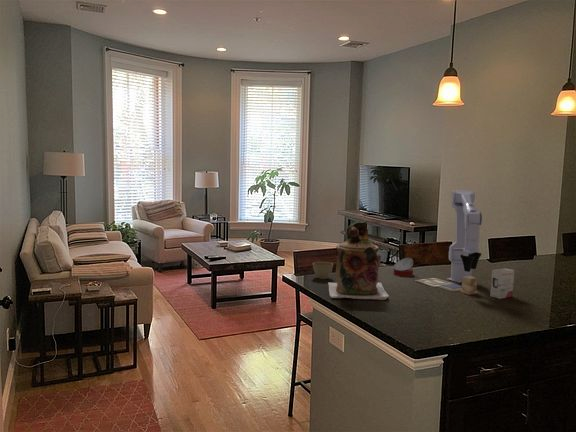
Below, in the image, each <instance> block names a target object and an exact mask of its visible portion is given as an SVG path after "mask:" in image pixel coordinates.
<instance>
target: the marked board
mask: <svg viewBox="0 0 576 432" xmlns="http://www.w3.org/2000/svg"><path fill="white" fill-rule="evenodd" d="M414 282H415V283H419V284H422V285H424V286H428V287H431V288H440V285H445V284H456V282H455V283H454V282H451V281H449V280H448V281H446V280H444V279H441V278H437V277H431V278H422V279H415V280H414Z"/></svg>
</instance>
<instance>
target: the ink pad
mask: <svg viewBox="0 0 576 432" xmlns="http://www.w3.org/2000/svg"><path fill="white" fill-rule="evenodd" d="M439 288H440V289H444V290H445V291H446V290H447V291H450V292H460V291H461V289H462V285H460V284H456V283H455V284H445V285H440V287H439Z"/></svg>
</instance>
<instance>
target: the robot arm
mask: <svg viewBox="0 0 576 432" xmlns="http://www.w3.org/2000/svg"><path fill="white" fill-rule="evenodd" d="M475 199H476V194H475V191H474V190H472V189H471V190H459V189H458V190H457V189H453V190H452V192H451V208H453V209H454V211H455V237H454V238H455V241H454V242H453V243H452V244H450V245H449V247H448V249H449V250H448V261H449V262H451V267H450V269H451V271H450V277H448V278H446V280H448V281H450V282H451V281H452V282H455V283H462V277H465V276H472V277H473V275H472V273H473V272H472V271H473V270H476V268H477V265H478V262H479V260H480V258H481V256H482V252H479V251H480V248H479V243H480V229H481V228H480V227H481V226H482V223H483V221H482V220H483V215H482V212H481V211H478V209H477V207H476V204H475Z"/></svg>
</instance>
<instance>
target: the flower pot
mask: <svg viewBox="0 0 576 432" xmlns="http://www.w3.org/2000/svg"><path fill="white" fill-rule="evenodd" d="M312 268H313V272H314V274H315V276H316V278H317V279H318V278H319V279H318V280H326V279H328V278H329V277H330V275H331V273H332V271H333V268H334V263H333V262H328V261H326V262H325V261H316V262H312Z"/></svg>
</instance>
